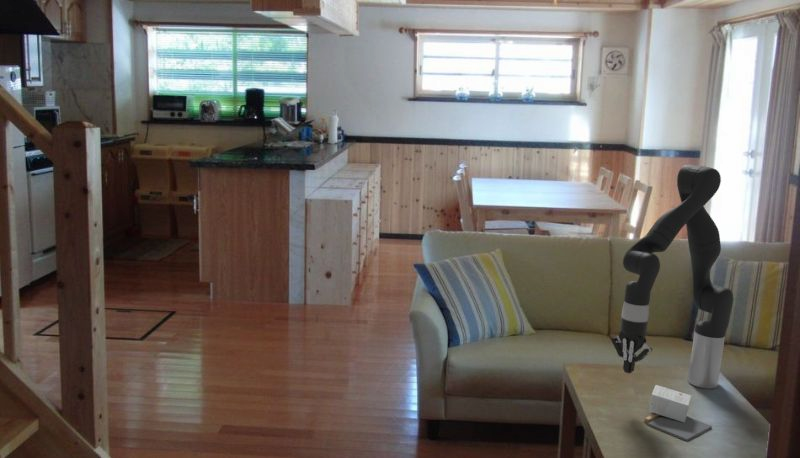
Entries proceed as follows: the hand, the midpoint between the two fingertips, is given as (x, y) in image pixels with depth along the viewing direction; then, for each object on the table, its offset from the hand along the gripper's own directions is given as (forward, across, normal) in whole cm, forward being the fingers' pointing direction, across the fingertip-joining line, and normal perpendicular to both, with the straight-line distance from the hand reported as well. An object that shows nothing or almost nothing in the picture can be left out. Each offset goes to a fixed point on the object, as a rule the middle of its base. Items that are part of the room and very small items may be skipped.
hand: (628, 372), depth 229 cm
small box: (+6, -7, -2) cm, 9 cm away
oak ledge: (+10, -11, 0) cm, 15 cm away
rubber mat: (+10, -18, 0) cm, 21 cm away
